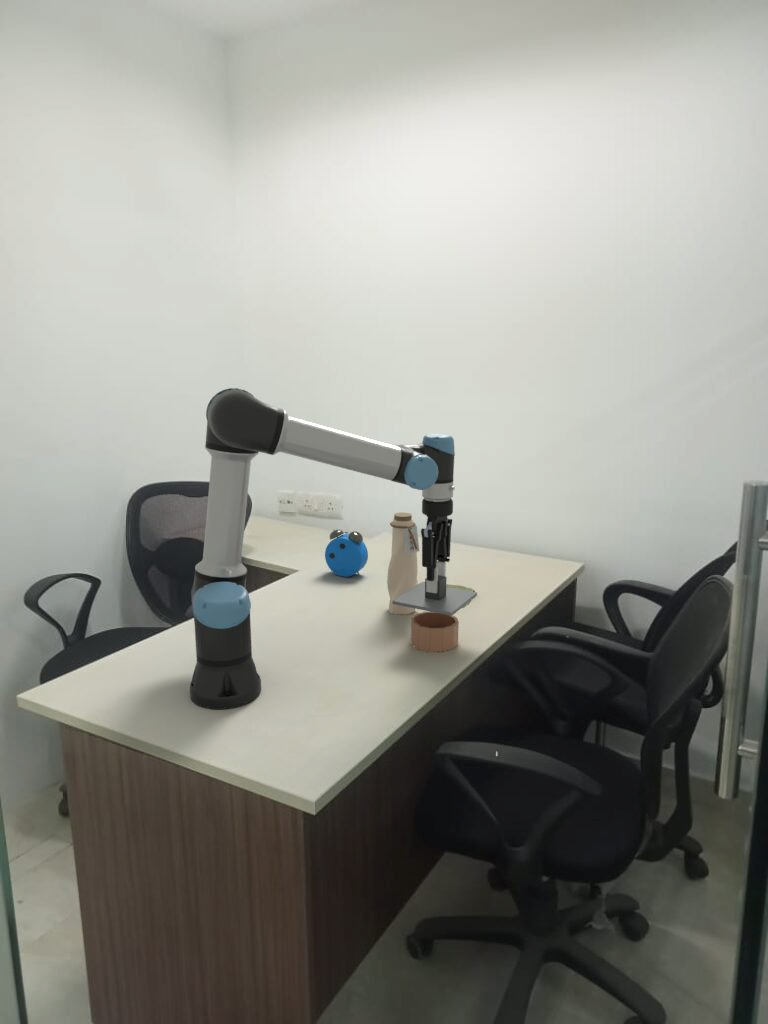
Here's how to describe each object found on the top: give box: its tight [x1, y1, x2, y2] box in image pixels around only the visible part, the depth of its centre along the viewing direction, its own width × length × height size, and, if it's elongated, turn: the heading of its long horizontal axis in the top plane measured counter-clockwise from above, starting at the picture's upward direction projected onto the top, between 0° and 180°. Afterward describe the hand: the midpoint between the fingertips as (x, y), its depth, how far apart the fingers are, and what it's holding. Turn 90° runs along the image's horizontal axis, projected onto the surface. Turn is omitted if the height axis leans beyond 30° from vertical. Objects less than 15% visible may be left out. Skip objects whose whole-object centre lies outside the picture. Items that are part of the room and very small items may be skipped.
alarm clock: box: [324, 529, 369, 578], centre depth 235 cm, size 13×6×15 cm, turn 68°
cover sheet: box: [392, 575, 478, 616], centre depth 181 cm, size 16×16×6 cm
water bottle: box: [386, 512, 420, 615], centre depth 202 cm, size 10×9×28 cm
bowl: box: [410, 611, 460, 653], centre depth 183 cm, size 12×12×6 cm
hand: (435, 589), depth 181 cm, fingers closed on cover sheet, 4 cm apart
